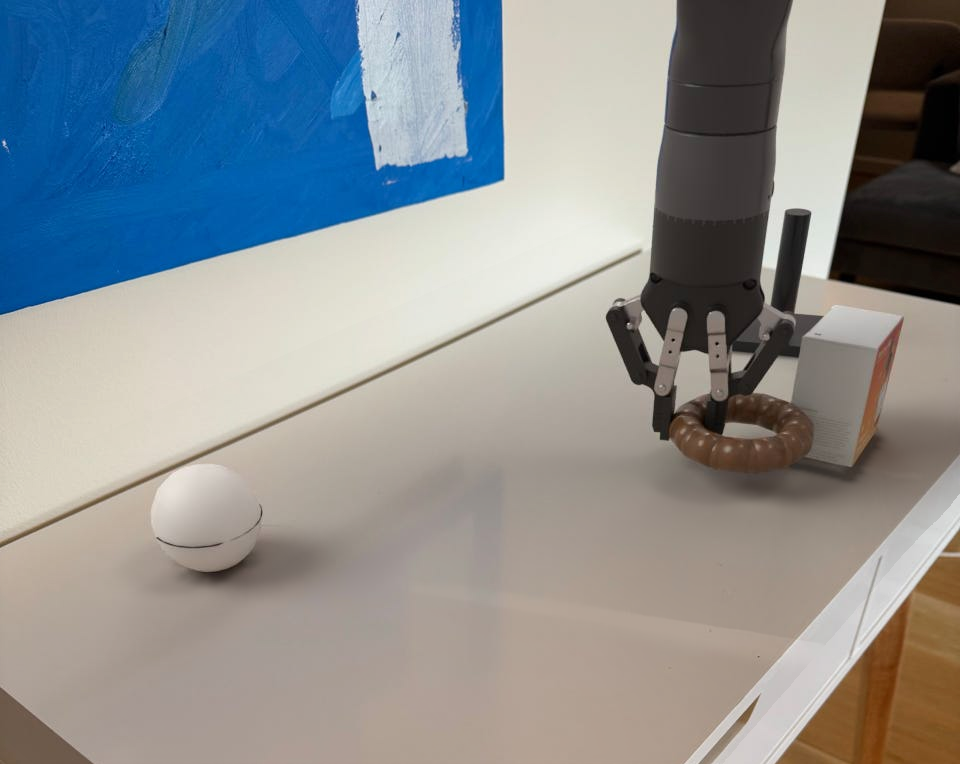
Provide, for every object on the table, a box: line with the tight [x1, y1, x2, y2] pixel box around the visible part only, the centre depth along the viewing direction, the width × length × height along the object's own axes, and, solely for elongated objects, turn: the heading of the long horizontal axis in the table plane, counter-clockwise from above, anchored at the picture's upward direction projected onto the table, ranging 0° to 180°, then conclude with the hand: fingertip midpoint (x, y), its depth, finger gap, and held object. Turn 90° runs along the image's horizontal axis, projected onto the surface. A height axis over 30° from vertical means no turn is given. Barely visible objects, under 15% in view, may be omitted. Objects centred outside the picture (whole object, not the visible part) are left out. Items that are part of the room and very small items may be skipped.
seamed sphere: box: [150, 463, 295, 573], centre depth 68 cm, size 10×7×7 cm
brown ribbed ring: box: [669, 392, 814, 475], centre depth 75 cm, size 10×10×2 cm
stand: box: [732, 207, 825, 358], centre depth 97 cm, size 9×9×12 cm
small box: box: [790, 304, 905, 468], centre depth 79 cm, size 8×6×10 cm
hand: (687, 437), depth 77 cm, fingers closed on brown ribbed ring, 2 cm apart
